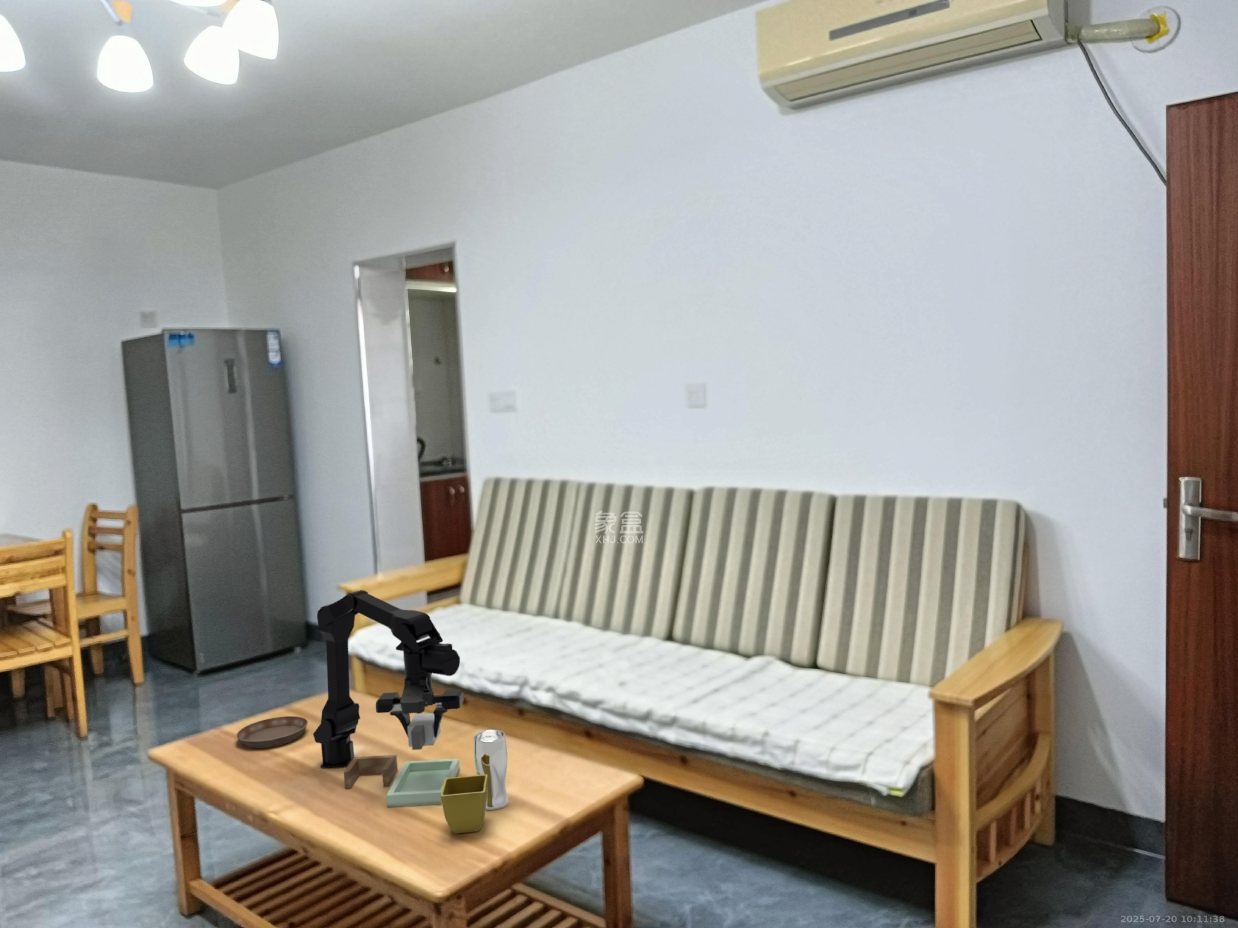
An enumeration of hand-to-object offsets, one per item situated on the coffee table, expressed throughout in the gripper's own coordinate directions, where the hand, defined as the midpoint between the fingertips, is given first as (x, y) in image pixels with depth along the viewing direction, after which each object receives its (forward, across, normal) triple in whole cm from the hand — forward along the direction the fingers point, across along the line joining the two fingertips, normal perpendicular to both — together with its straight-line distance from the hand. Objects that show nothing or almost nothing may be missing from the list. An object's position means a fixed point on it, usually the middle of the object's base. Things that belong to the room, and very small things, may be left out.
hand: (422, 737), depth 206 cm
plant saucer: (+11, -48, +34) cm, 60 cm away
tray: (+11, 0, -2) cm, 11 cm away
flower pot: (+11, +13, -22) cm, 28 cm away
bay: (+11, -13, +4) cm, 18 cm away
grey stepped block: (+1, 0, 0) cm, 1 cm away
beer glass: (+11, +17, -12) cm, 24 cm away
